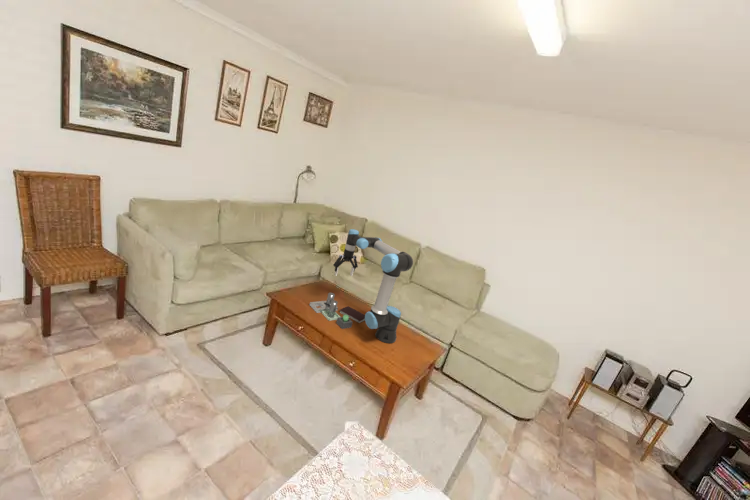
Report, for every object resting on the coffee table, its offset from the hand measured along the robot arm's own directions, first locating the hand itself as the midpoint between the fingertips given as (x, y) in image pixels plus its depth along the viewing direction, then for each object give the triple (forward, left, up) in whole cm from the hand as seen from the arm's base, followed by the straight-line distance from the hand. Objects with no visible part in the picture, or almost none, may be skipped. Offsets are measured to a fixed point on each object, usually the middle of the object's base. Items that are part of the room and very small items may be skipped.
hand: (343, 275), depth 268 cm
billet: (-13, +12, -27) cm, 32 cm away
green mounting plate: (-13, +12, -27) cm, 33 cm away
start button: (-26, +9, -24) cm, 37 cm away
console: (-26, +9, -27) cm, 39 cm away
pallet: (0, +12, -27) cm, 30 cm away
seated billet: (0, +7, -27) cm, 28 cm away
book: (-15, -7, -28) cm, 33 cm away
